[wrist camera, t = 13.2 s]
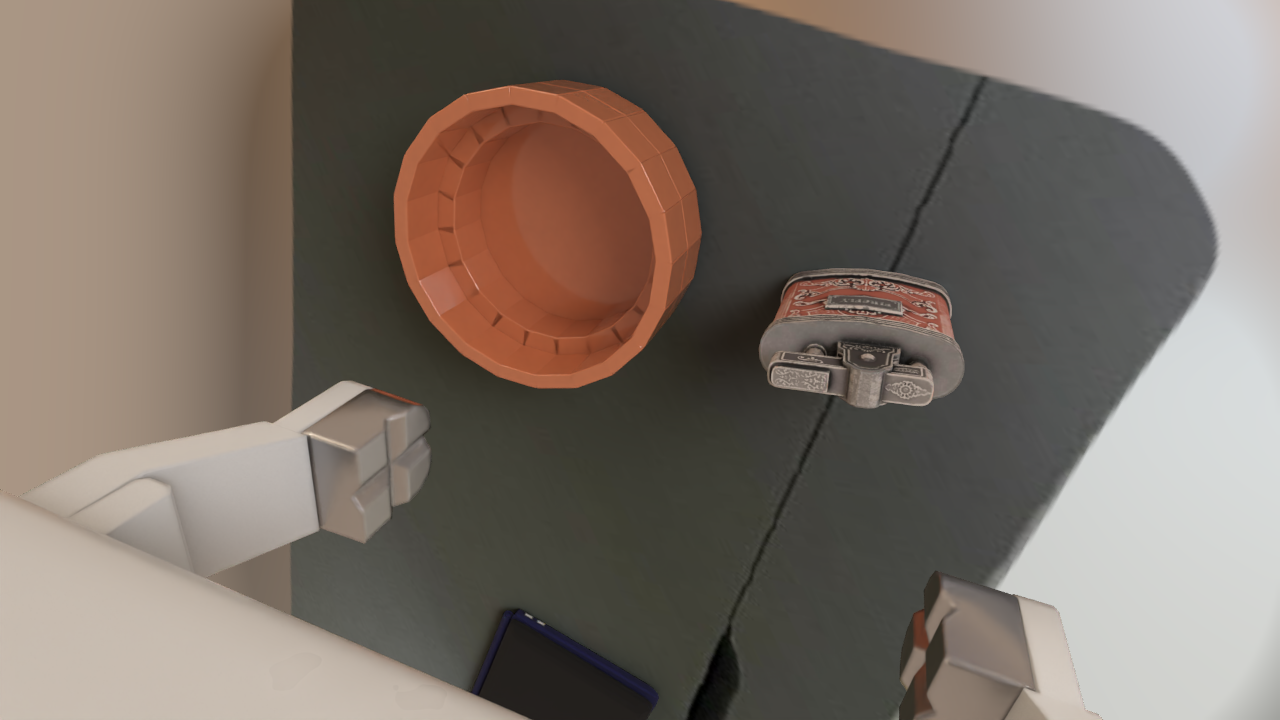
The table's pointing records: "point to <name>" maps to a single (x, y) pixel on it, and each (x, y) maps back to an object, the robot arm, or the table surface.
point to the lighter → (863, 338)
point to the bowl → (546, 230)
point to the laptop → (556, 676)
